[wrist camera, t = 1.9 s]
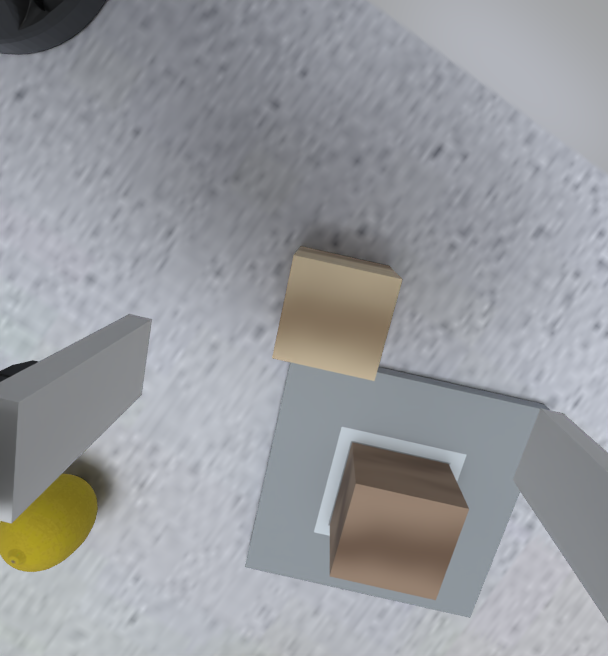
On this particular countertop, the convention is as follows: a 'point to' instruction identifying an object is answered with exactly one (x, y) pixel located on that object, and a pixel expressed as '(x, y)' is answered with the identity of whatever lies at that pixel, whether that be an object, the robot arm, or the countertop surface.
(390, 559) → the walnut base
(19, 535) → the lemon
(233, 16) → the countertop surface
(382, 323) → the oak cube
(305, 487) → the grey square plate
